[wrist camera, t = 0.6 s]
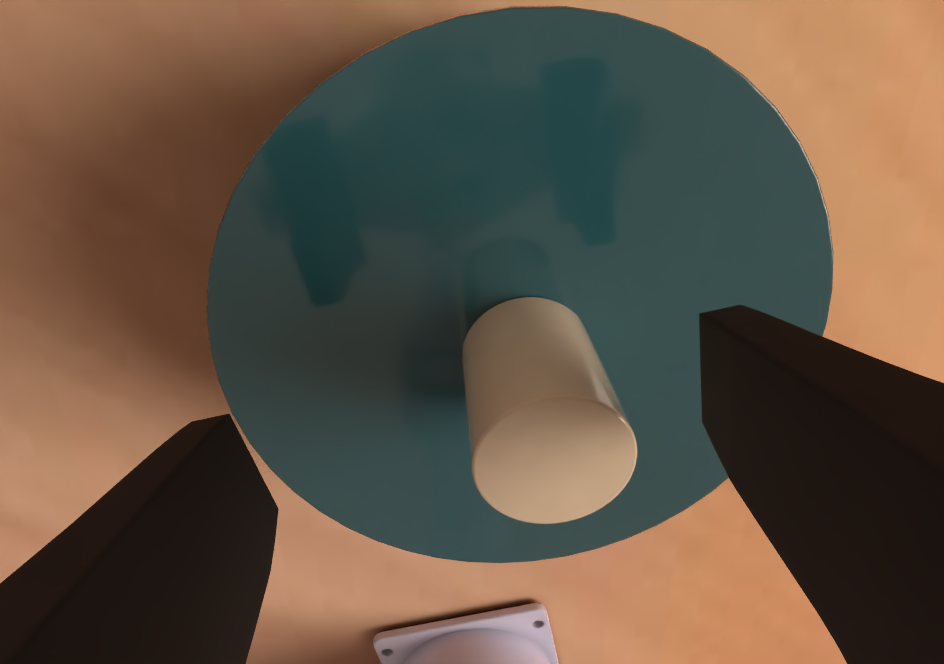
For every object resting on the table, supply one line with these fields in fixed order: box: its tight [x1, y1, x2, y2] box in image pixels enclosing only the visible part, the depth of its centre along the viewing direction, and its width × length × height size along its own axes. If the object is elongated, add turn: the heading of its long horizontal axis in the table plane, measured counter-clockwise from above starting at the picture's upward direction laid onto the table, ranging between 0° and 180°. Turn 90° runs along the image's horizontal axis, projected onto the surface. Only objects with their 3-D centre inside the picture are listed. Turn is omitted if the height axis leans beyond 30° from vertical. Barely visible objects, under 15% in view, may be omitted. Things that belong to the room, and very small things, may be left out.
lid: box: [207, 6, 833, 563], centre depth 12 cm, size 13×13×5 cm
